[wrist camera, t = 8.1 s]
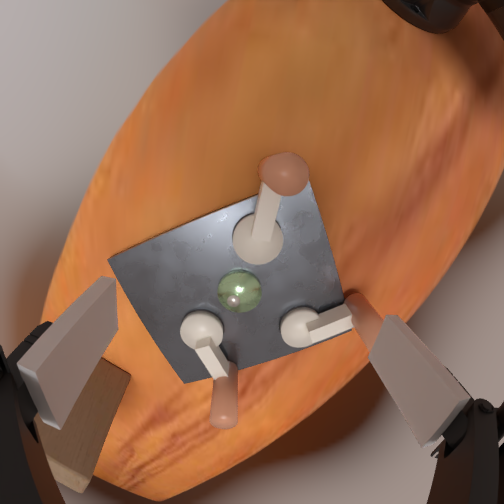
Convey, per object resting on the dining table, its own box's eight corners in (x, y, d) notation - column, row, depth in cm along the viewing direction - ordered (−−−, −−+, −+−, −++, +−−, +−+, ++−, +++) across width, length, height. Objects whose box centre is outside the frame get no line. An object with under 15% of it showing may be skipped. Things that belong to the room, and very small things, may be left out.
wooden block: (68, 374, 37) (20, 457, 18) (77, 340, 34) (13, 434, 15) (116, 403, 39) (82, 494, 20) (132, 374, 36) (89, 482, 17)
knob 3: (287, 347, 33) (299, 399, 25) (274, 316, 32) (284, 367, 23) (368, 315, 32) (399, 358, 24) (361, 282, 31) (396, 322, 22)
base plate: (305, 176, 28) (310, 177, 26) (348, 325, 34) (354, 334, 32) (111, 256, 30) (103, 263, 28) (185, 378, 36) (183, 389, 34)
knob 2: (275, 264, 30) (288, 306, 21) (228, 255, 29) (223, 294, 21) (300, 162, 26) (327, 162, 18) (251, 150, 26) (255, 144, 17)
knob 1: (174, 318, 31) (155, 367, 23) (212, 305, 31) (203, 355, 22) (214, 380, 35) (209, 432, 26) (248, 371, 34) (250, 424, 26)
